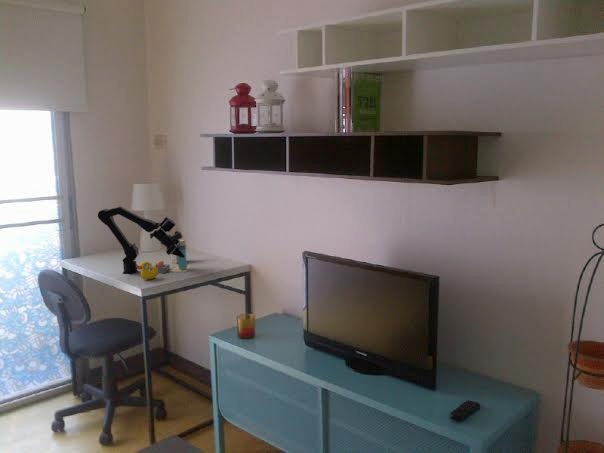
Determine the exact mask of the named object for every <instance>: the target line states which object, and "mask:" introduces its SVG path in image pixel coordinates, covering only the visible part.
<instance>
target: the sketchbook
mask: <svg viewBox="0 0 604 453" xmlns="http://www.w3.org/2000/svg"><path fill="white" fill-rule="evenodd" d="M191 269H193V267H192V266H187V268H186V269H179V266H173V267H172V268H170V270H168V271H167V273H187V272H188V271H189V270H191Z"/></svg>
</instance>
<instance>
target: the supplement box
mask: <svg viewBox="0 0 604 453" xmlns="http://www.w3.org/2000/svg"><path fill="white" fill-rule="evenodd" d="M179 240H180V242H179V243H180V245H184V244H186V240H185V239H179ZM179 243H178V244H179ZM171 253H172V252H171ZM171 253H170V260H171V263H172V264H175V265H177V264H178V265H179V261H178V256H176V255H173V254H171Z"/></svg>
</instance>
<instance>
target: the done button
mask: <svg viewBox="0 0 604 453" xmlns="http://www.w3.org/2000/svg"><path fill="white" fill-rule="evenodd" d="M164 264H165V262H164V260H156V261H155V265H156V267H163V266H164Z"/></svg>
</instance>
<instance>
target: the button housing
mask: <svg viewBox="0 0 604 453" xmlns="http://www.w3.org/2000/svg"><path fill="white" fill-rule="evenodd" d="M154 266H156V264H154V265H152V266H151V268H150V270H149V271H152V269H153V267H154ZM157 268H158V274H165V273H166V272H167V271H168V270H170V269H171V265H170V264H165V263H164V266H163V267H157ZM167 273H168V272H167Z"/></svg>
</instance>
